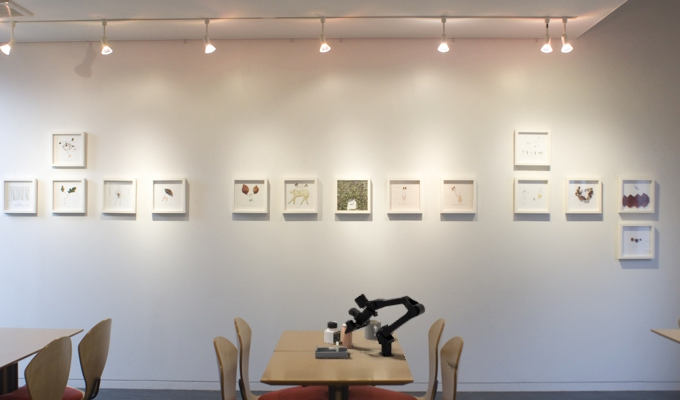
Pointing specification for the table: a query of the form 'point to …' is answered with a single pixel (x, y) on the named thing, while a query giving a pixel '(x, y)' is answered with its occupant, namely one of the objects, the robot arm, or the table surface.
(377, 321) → the coffee mug
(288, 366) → the table surface
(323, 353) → the tray
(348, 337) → the dome-lidded peach canister
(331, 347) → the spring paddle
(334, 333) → the medicine bottle
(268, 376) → the table surface
